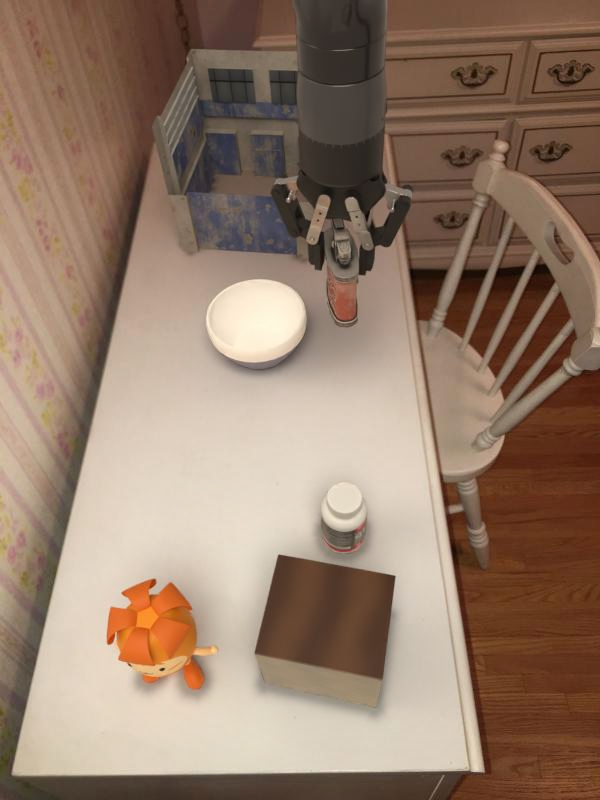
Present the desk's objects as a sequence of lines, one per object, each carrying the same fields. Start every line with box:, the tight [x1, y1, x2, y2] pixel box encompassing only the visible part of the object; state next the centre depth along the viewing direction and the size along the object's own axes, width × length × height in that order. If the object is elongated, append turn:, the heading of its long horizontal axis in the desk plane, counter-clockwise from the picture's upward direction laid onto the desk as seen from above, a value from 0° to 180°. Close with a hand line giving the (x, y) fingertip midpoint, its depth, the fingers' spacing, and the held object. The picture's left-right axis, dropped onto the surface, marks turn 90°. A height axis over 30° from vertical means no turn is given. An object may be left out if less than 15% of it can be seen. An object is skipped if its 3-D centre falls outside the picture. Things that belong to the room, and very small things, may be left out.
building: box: [151, 48, 315, 261], centre depth 108 cm, size 23×24×23 cm
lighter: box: [324, 218, 360, 329], centre depth 69 cm, size 8×3×10 cm, turn 7°
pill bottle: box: [320, 481, 368, 555], centre depth 76 cm, size 5×5×10 cm
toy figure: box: [106, 578, 219, 691], centre depth 66 cm, size 12×8×15 cm, turn 81°
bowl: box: [205, 278, 308, 370], centre depth 95 cm, size 14×14×8 cm
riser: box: [254, 553, 397, 708], centre depth 67 cm, size 12×10×12 cm
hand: (341, 267), depth 69 cm, fingers closed on lighter, 4 cm apart
